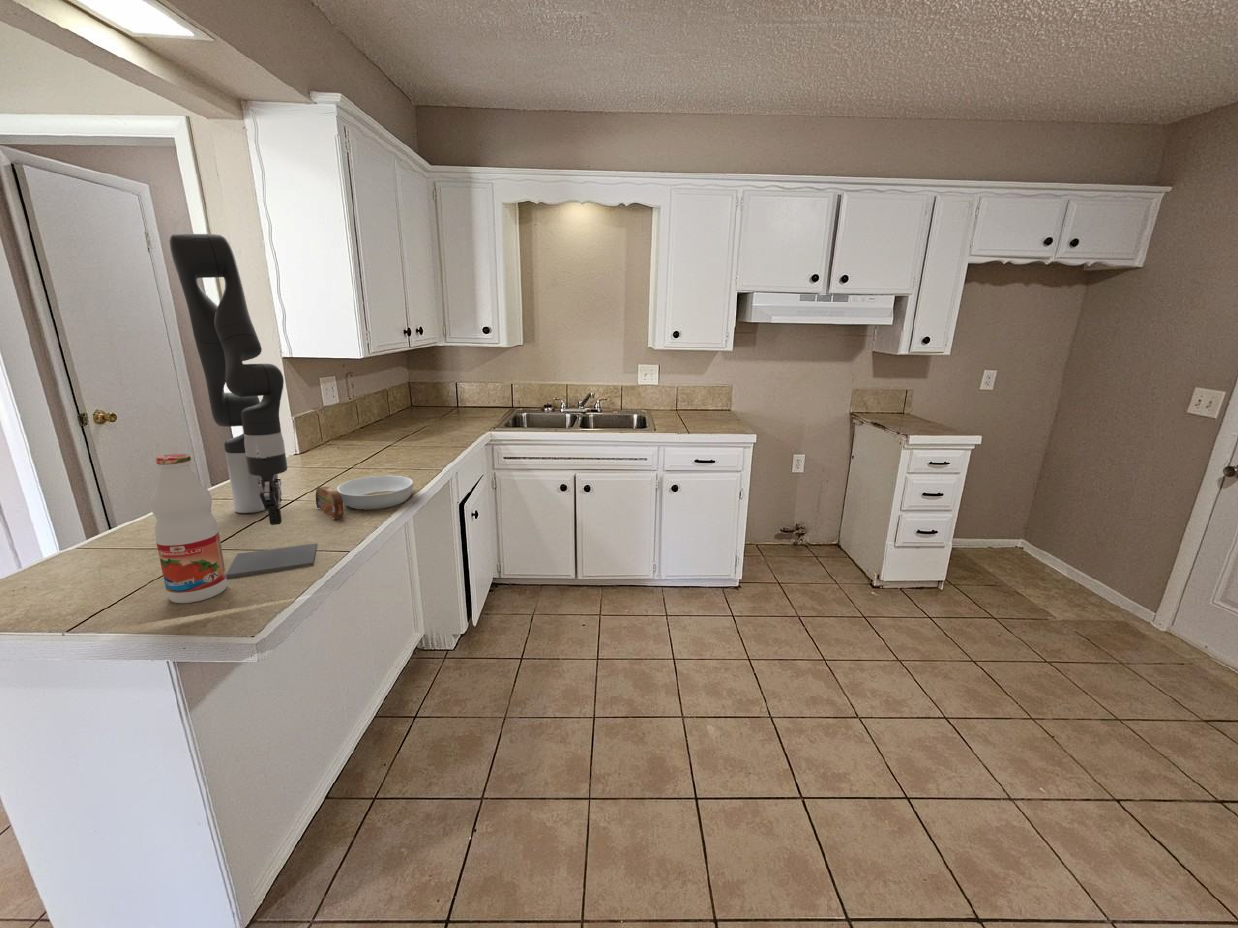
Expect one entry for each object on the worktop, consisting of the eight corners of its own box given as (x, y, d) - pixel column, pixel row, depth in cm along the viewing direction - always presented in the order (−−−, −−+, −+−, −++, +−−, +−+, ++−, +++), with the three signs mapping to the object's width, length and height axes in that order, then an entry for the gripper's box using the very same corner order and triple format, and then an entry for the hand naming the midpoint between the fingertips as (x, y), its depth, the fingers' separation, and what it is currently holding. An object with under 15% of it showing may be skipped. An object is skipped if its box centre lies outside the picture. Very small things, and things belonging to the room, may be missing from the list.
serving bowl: (322, 513, 150) (319, 490, 149) (373, 493, 170) (371, 472, 168) (383, 521, 145) (381, 497, 143) (428, 499, 165) (427, 478, 163)
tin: (316, 512, 151) (312, 484, 149) (328, 510, 153) (324, 482, 151) (335, 525, 141) (331, 496, 139) (347, 522, 143) (344, 493, 141)
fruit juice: (237, 580, 109) (215, 450, 102) (212, 602, 100) (186, 461, 93) (186, 583, 107) (160, 451, 100) (156, 606, 98) (125, 462, 91)
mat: (238, 556, 120) (237, 553, 120) (317, 546, 127) (317, 543, 127) (226, 578, 110) (225, 574, 109) (313, 565, 116) (313, 562, 116)
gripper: (251, 447, 123) (262, 516, 128) (240, 459, 112) (251, 535, 116) (288, 445, 127) (297, 513, 131) (281, 457, 115) (291, 530, 119)
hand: (276, 523), depth 123 cm, fingers closed
